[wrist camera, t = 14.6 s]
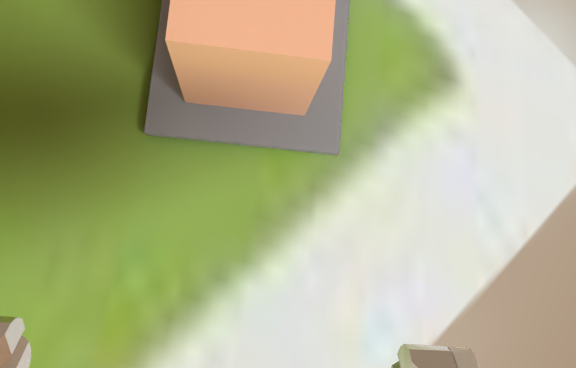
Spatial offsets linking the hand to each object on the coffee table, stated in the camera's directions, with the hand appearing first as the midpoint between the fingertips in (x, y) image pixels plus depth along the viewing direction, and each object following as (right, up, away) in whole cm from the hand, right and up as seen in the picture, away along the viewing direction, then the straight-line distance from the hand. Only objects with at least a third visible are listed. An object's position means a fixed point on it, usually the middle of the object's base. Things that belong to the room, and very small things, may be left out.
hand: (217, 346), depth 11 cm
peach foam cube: (-1, +11, +18) cm, 21 cm away
